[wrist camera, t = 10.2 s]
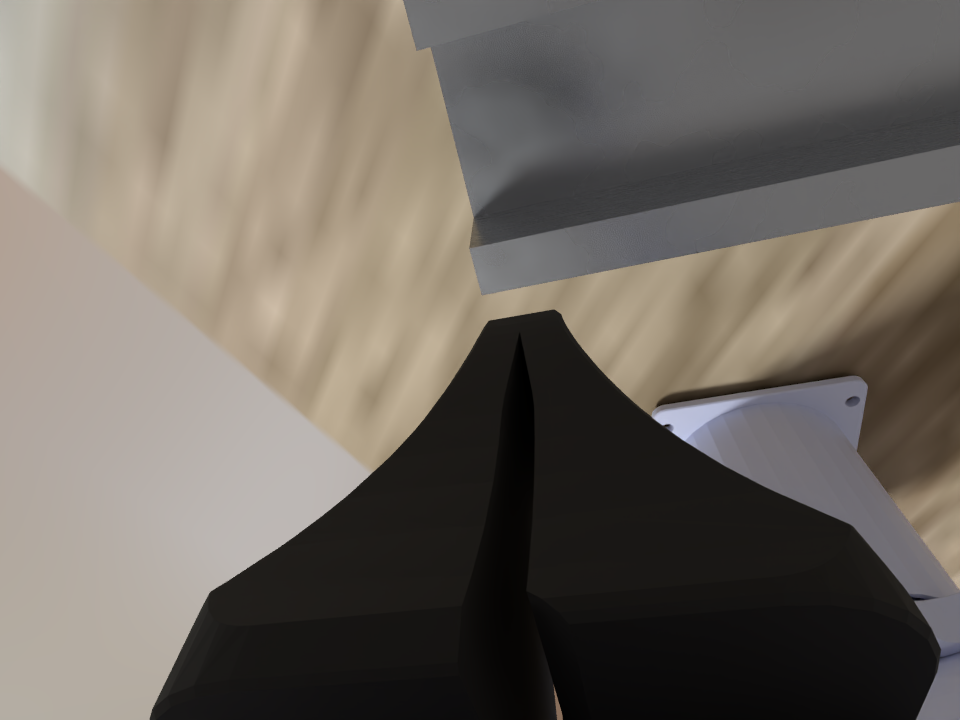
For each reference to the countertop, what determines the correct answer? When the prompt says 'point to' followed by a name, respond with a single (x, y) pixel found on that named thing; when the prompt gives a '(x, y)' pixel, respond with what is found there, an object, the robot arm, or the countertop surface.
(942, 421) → the countertop surface
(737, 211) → the rail
